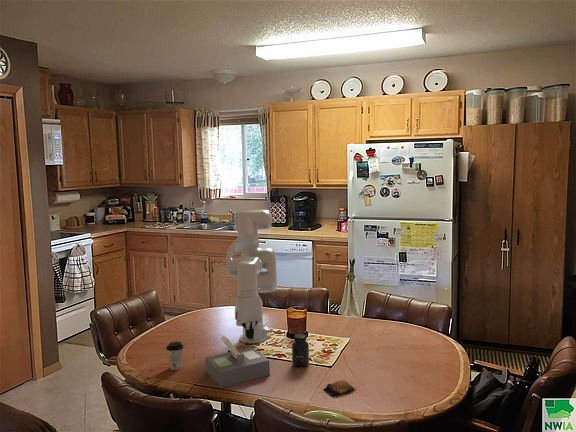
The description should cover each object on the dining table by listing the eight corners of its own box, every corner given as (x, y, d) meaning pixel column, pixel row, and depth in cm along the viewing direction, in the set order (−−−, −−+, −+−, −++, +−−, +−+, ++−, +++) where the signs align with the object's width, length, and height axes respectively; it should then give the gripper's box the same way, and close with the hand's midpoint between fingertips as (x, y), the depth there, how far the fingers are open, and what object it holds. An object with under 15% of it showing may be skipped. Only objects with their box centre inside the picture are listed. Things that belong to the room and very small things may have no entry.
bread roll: (344, 383, 180) (344, 373, 180) (358, 391, 173) (358, 381, 172) (320, 390, 175) (320, 380, 174) (334, 400, 168) (333, 389, 167)
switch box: (252, 360, 202) (251, 339, 201) (269, 375, 188) (268, 352, 187) (206, 372, 192) (205, 350, 191) (220, 388, 178) (219, 364, 177)
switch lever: (238, 352, 192) (224, 334, 189) (243, 357, 188) (229, 338, 184) (233, 357, 191) (219, 338, 188) (238, 361, 187) (224, 343, 183)
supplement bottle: (297, 369, 192) (296, 340, 191) (289, 363, 198) (288, 334, 197) (312, 365, 195) (311, 336, 194) (304, 359, 201) (303, 331, 200)
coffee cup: (176, 372, 193) (174, 348, 192) (163, 369, 196) (162, 345, 195) (188, 366, 199) (187, 342, 198) (176, 362, 202) (174, 339, 201)
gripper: (261, 287, 196) (262, 331, 198) (226, 293, 189) (228, 339, 191) (269, 291, 190) (271, 337, 192) (233, 298, 183) (235, 345, 185)
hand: (249, 338), depth 191 cm, fingers closed
